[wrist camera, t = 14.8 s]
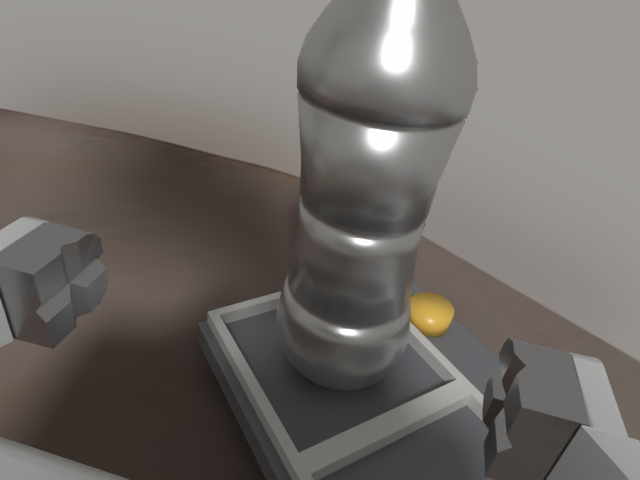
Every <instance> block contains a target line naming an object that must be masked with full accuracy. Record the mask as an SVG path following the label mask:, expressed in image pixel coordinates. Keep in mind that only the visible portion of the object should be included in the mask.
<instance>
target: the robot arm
mask: <svg viewBox="0 0 640 480" xmlns="http://www.w3.org/2000/svg"><path fill="white" fill-rule="evenodd" d="M102 253H103V249H102V244H101V239H100V238H99V237H98V236H97V235H95V234H94V233H90V232H87V231H83V230H79V229H76V228H72V227H69V226H65V225H61V224H58V223H54V222H49V221H46V220H42V219H38V218H35V217H22V218H20V219H18V220H17V221H15V222H13V223H12V224H10V225H8V226H7V227H5V228H3V229H2V230H0V347H2V346H4V345H6V344H8V343H10V342H12V341H14V339H18V340H22V341H25V342H29V343H33V344H37V345H41V346H44V347H48V348H52V349H53V348H54V347H55V346H56V345H57V344H58V343H59V342H60V341H61V340H63V339H64V338H65V337H66V336H67V335H68V334H69V333H70V332H71V331H72V330H73V329H74V328H75V327H76V319H77V317H79V316H81V315H84V314H87V313H89V312H91V311H92V310H93V309H94V308H95V307H96V306H97V305H98V304H99V303H100V301H101V299H102V297H103V295H104V293H105V291H106V286H107V273H106V269H105V267H104V266H103V265H102V264H101V262H100V261H99V260H98V258H99V257H100V255H101V254H102ZM482 414H483V422H484V424H485V425H486V427H487V428H488V429H489V432H488V434H487V436H486V438H485V441H484V462H485V477H488V478H491V479H494V480H640V442H639V441H638V440H635V439H632V438H628V435H627V432H626V429H625V426H624V423H623V420H622V418H621V415H620V412H619V409H618V406H617V403H616V400H615V397H614V394H613V392H612V389H611V386H610V383H609V380H608V377H607V374H606V371H605V368H604V366H603V363H602V362H601V361H600V360H599V359H597V358H593V357H589V356H584V355H580V354H576V353H571V352H564V351H560V350H556V349H551V348H547V347H543V346H539V345H535V344H531V343H527V342H523V341H519V340H515V339H511V338H508V339H507V341H506V342H505V343H504V345H503V347H502V349H501V351H500V367H498V368H496V369H494V370H492V372H491V374H490V377H489V379H488V382H487V384H486V389H485V393H484V397H483V408H482ZM0 480H130V479H127V478H124V477H121V476H118V475H115V474H112V473H109V472H106V471H103V470H100V469H97V468H94V467H91V466H88V465H84V464H81V463H78V462H75V461H72V460H69V459H66V458H63V457H60V456H57V455H54V454H51V453H48V452H45V451H42V450H39V449H36V448H33V447H30V446H27V445H24V444H21V443H18V442H15V441H12V440H9V439H6V438H3V437H0Z"/></svg>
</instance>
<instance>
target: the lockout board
mask: <svg viewBox="0 0 640 480" xmlns="http://www.w3.org/2000/svg"><path fill="white" fill-rule="evenodd" d="M280 295H281V291H280V292H277V293H273V294H269V295H266V296H262V297H258V298H255V299H251V300H248V301H244V302H240V303H237V304H233V305H229V306H226V307H222V308H218V309H215V310H211V311H208V312H207V320H205V321H202V322H198V323H197V327H198V343H199V345H200V347H201V349H202V351H203V353H204V355H205V357H206V360H207V362H208V364H209V366H210V368H211V370H212V372H213V374H214V376H215V378H216V380H217V382H218V384H219V386H220V388H221V390H222V392H223V394H224V396H225V398H226V400H227V402H228V404H229V406H230V408H231V410H232V412H233V414H234V416H235V418H236V420H237V422H238V424H239V426H240V428H241V430H242V432H243V434H244V436H245V438H246V440H247V442H248V444H249V446H250V448H251V451H252V453H253V455H254V457H255V459H256V461H257V463H258V465H259V467H260V469H261V471H262V473H263V475H264V477H265V479H266V480H494V479H491V478H488V477H485V462H484V441H485V438H486V436H487V434H488V432H489V429H488V428H487V427H486V425H485V424H484V422H483V414H482V408H483V397H484V393H485V389H486V384H487V382H488V379H489V377H490V374H491V372H492V370H494V369H496V368H498V367H500V359H499V358H497V357H496V356H495V355H494V354H493V353H492V352H491V351H490V350H489V349H488V348H486V347H485V346H484V345H483V344H482V343H481V342H480V341H479V340H478V339H477V338H475V337H474V336H473V335H472V334H471V333H470V332H469V331H468V330H467V329H466V328H464V327H463V326H462V325H461V324H460V323H459V322H458V321H457V320H456V319H454V318H453V315H454V308H453V306H452V304H451V303H450V302H449V301H448V300H447V299H445V298H444V297H442V296H440V295H438V294H435V293H431V292H425V291H424V290H423V289H421V288H420V287H419V286H418V285H417V284H416V283H415V282H414V281H413V284H412V290H411V297H410V298H411V320H410V329H409V339H408V343H407V346H406V349H405V351H404V353H403V354H402V356H401V358H400V360H399V362H398V363H397V365H396V367H395V368H394V370H393V371H392V372H391V374H390V375H388V376H387V377H386V378H385V379H384V380H382V381H380V382H378V383H376V384H374V385H371V386H369V387H366V388H363V389H359V390H353V391H340V390H333V389H329V388H325V387H322V386H320V385H317V384H315V383H313V382H311V381H310V380H308V379H306V378H305V377H304V376H303V375H301V374H300V373H299V372H298V371H297V370H296V369H295V368H294V367H293V366H292V365H291V363H290V362H289V361H288V360H287V358H286V357H285V355H284V353H283V351H282V349H281V347H280V342H279V336H278V329H277V322H276V313H277V307H278V303H279V299H280Z"/></svg>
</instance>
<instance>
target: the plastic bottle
mask: <svg viewBox="0 0 640 480" xmlns="http://www.w3.org/2000/svg"><path fill="white" fill-rule="evenodd" d="M297 63H298V65H297V88H298V90H299V92H298V110H299V126H300V127H299V128H300V145H301V178H300V194H301V197H300V203H299V220H298V225H297V231H296V236H295V241H294V246H293V252H292V257H291V262H290V267H289V272H288V274H287V277H286V279H285V282H284V285H283V288H282V290H281V295H280V299H279V303H278V307H277V313H276V322H277V329H278V336H279V342H280V347H281V349H282V351H283V353H284V355H285V357H286V358H287V360H288V361H289V362H290V363H291V365H292V366H293V367H294V368H295V369H296V370H297V371H298V372H299V373H300V374H301V375H303V376H304V377H305V378H306V379H308V380H310V381H311V382H313V383H315V384H317V385H320V386H322V387H325V388H329V389H333V390H340V391H353V390H359V389H363V388H366V387H369V386H371V385H374V384H376V383H378V382H380V381H382V380H384V379H385V378H386V377H387V376H388V375H390V374H391V372H392V371H393V370H394V368H395V367H396V365H397V363H398V362H399V360H400V358H401V356H402V354H403V353H404V351H405V349H406V346H407V343H408V339H409V329H410V320H411V298H410V297H411V290H412V284H413V278H414V272H415V265H416V259H417V253H418V247H419V242H420V239H421V236H422V232H423V229H424V226H425V219H426V218H427V216H428V214H429V211H430V208H431V205H432V202H433V198H434V195H435V192H436V189H437V186H438V183H439V180H440V178H441V176H442V173H443V171H444V169H445V167H446V164H447V162H448V160H449V157H450V155H451V153H452V150H453V148H454V146H455V144H456V141H457V139H458V137H459V134H460V132H461V130H462V127H463V125H464V123H465V120H464V119H466V118H467V116H468V114H469V111H470V109H471V106H472V102H473V100H474V97H475V94H476V92H477V59H476V55H475V52H474V48H473V44H472V40H471V36H470V32H469V29H468V26H467V24H466V21H465V19H464V16H463V13H462V11H461V8H460V5H459V2H458V0H332V1H331V2H330V3H329V4H328V5H327V7H326V8H325V9H324V10H323V12H322V13H321V15H320V16H319V18H318V19H317V20H316V22H315V23H314V25H313V26H312V27H311V29H310V30H309V32H308V33H307V35H306V37H305V41H304V43H303V46H302V48H301V51H300V54H299V57H298V62H297Z"/></svg>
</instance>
